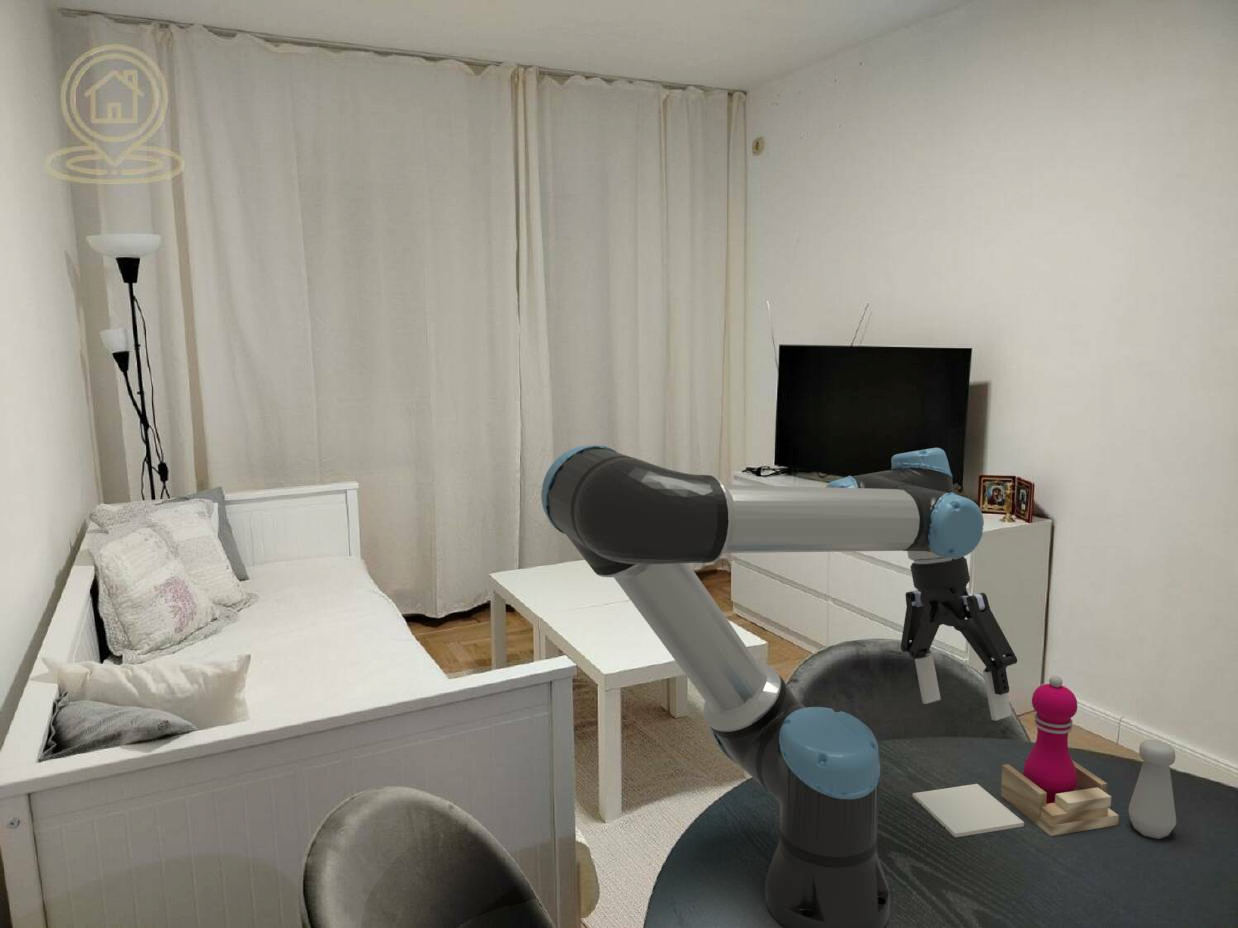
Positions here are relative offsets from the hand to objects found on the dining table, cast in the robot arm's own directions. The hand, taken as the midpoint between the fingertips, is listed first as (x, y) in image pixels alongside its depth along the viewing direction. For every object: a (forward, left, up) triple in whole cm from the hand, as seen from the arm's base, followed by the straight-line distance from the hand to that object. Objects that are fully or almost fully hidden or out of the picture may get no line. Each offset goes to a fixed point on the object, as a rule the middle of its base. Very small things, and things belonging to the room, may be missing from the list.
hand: (964, 709), depth 123 cm
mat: (+3, +3, -18) cm, 19 cm away
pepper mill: (+16, +2, -18) cm, 25 cm away
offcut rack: (+16, 0, -18) cm, 24 cm away
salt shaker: (+25, -7, -18) cm, 32 cm away
